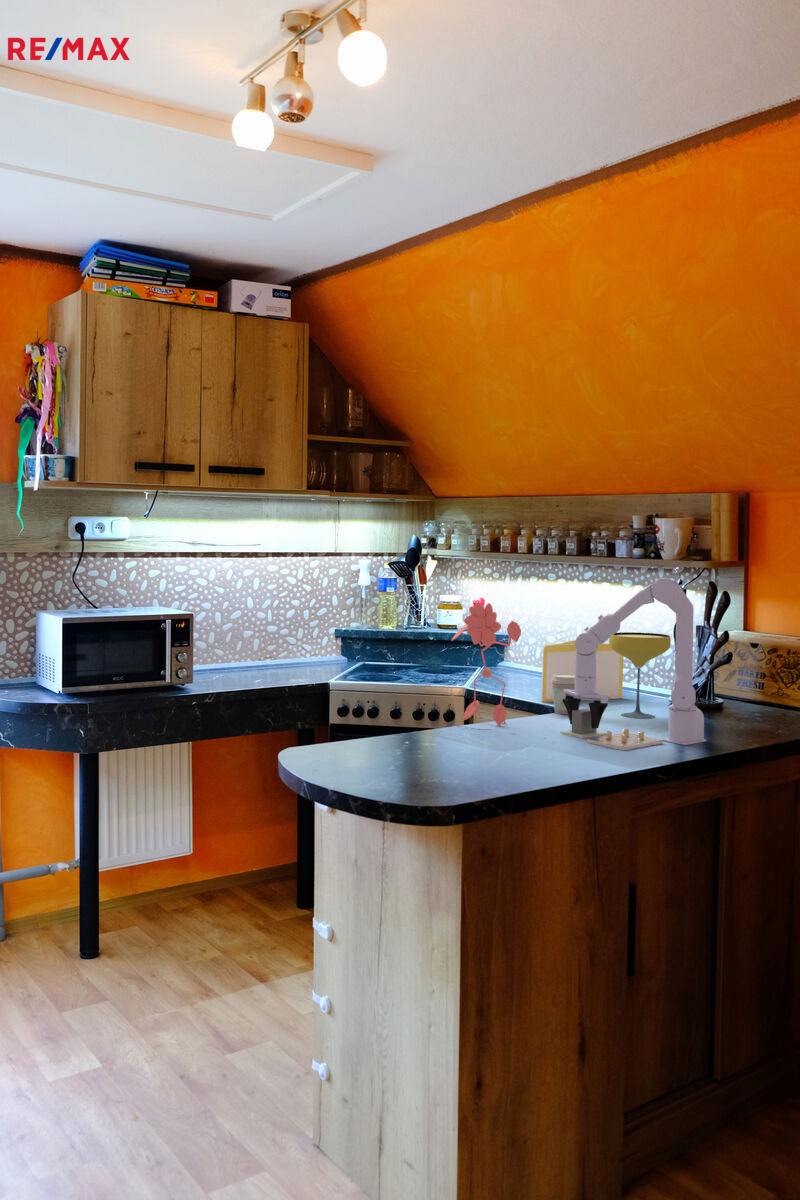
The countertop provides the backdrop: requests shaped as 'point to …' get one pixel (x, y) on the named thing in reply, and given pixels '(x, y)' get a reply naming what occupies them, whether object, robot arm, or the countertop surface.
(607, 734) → the plate
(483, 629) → the figurine
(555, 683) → the coffee cup
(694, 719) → the robot arm
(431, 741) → the countertop surface
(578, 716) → the grey block on base
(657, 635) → the cocktail glass
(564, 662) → the tabletop whiteboard
